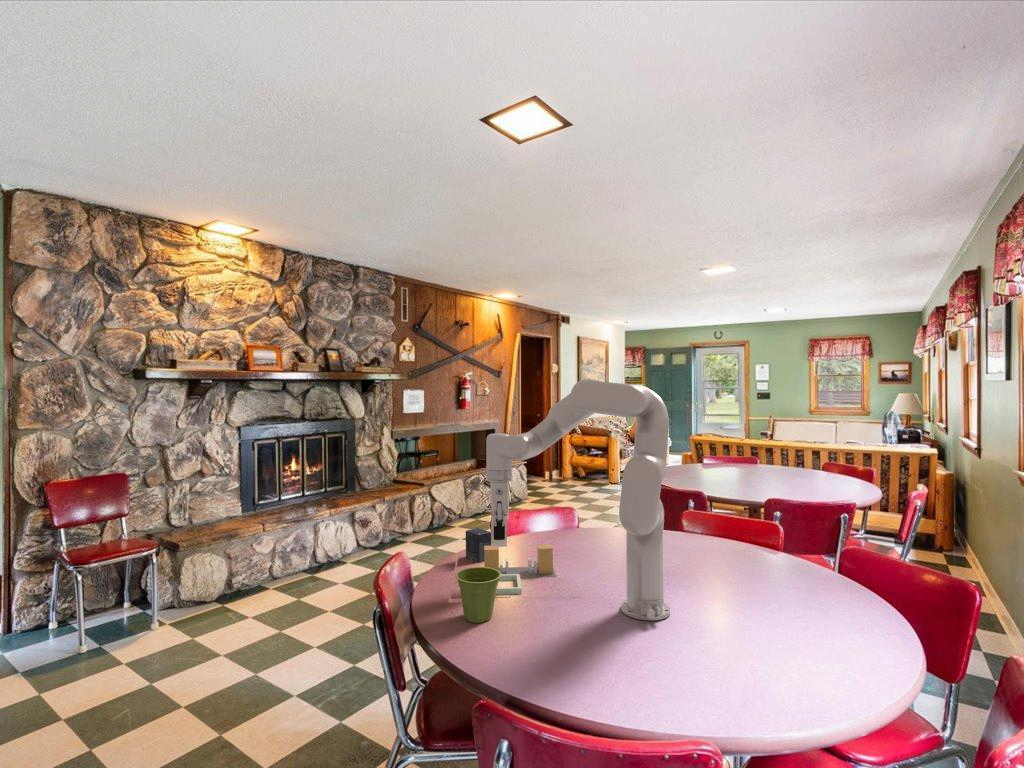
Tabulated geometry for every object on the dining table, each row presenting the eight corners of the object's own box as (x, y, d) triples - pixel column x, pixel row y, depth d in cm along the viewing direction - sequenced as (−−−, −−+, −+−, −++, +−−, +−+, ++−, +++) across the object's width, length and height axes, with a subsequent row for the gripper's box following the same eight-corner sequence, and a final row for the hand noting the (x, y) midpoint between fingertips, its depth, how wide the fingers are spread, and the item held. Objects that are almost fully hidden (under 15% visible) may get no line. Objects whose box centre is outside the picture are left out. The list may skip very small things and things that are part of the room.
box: (491, 562, 183) (491, 531, 183) (478, 566, 179) (478, 534, 179) (478, 557, 189) (478, 527, 189) (465, 560, 185) (465, 530, 186)
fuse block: (556, 580, 165) (556, 550, 165) (482, 581, 164) (481, 552, 164) (552, 569, 175) (552, 541, 175) (482, 571, 174) (482, 543, 174)
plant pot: (460, 630, 131) (459, 584, 131) (452, 611, 142) (452, 569, 143) (506, 624, 134) (506, 579, 134) (495, 606, 145) (495, 564, 146)
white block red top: (506, 546, 156) (506, 512, 156) (491, 546, 155) (491, 512, 156) (506, 542, 160) (506, 508, 160) (491, 542, 160) (491, 508, 160)
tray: (521, 597, 152) (521, 588, 152) (479, 598, 151) (479, 589, 151) (519, 582, 164) (519, 573, 164) (480, 583, 163) (480, 574, 163)
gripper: (513, 480, 150) (513, 545, 149) (510, 470, 167) (510, 529, 166) (486, 480, 149) (486, 545, 149) (486, 471, 166) (486, 529, 166)
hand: (499, 536), depth 158 cm, fingers closed on white block red top, 4 cm apart
